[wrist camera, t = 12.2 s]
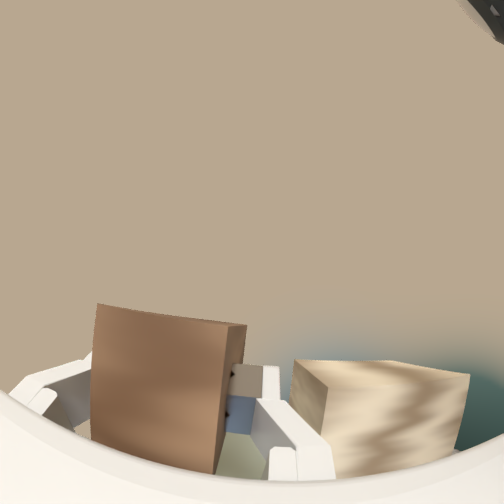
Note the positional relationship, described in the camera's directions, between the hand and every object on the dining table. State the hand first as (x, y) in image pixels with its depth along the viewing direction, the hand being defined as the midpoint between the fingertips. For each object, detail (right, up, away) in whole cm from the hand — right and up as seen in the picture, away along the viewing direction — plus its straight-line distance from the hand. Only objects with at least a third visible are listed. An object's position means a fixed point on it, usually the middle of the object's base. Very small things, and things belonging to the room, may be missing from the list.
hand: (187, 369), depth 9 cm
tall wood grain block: (+8, -30, +3) cm, 31 cm away
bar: (0, -4, +5) cm, 6 cm away
